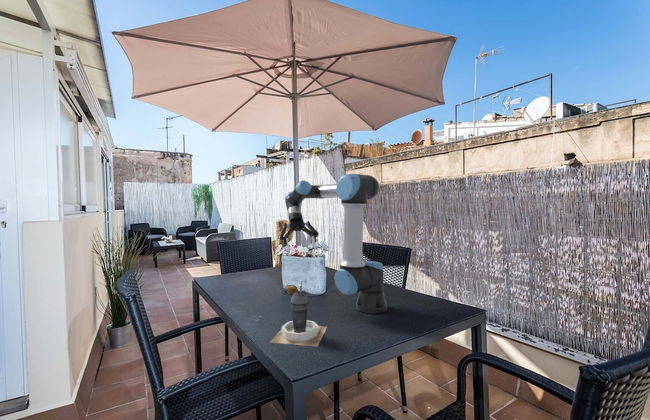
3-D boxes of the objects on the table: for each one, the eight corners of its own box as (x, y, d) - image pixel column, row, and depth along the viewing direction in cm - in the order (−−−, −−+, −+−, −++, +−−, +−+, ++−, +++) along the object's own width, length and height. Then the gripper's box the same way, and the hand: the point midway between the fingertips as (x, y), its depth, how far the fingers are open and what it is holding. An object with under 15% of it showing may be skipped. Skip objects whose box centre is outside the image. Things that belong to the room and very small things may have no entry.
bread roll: (296, 301, 174) (302, 289, 173) (280, 293, 176) (286, 280, 175) (301, 296, 184) (306, 284, 183) (286, 288, 186) (291, 276, 185)
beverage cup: (299, 326, 126) (299, 277, 125) (312, 330, 121) (312, 280, 121) (286, 332, 120) (286, 281, 120) (300, 337, 116) (299, 284, 115)
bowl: (322, 329, 125) (322, 322, 124) (308, 344, 112) (308, 336, 112) (292, 325, 130) (292, 318, 129) (276, 338, 117) (276, 330, 117)
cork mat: (327, 328, 128) (327, 326, 128) (317, 348, 110) (317, 346, 110) (285, 324, 131) (285, 323, 131) (270, 343, 114) (270, 342, 114)
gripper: (316, 218, 174) (324, 250, 161) (272, 222, 168) (276, 255, 155) (318, 210, 168) (327, 242, 155) (272, 213, 162) (277, 247, 149)
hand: (302, 249), depth 155 cm, fingers open, 13 cm apart
